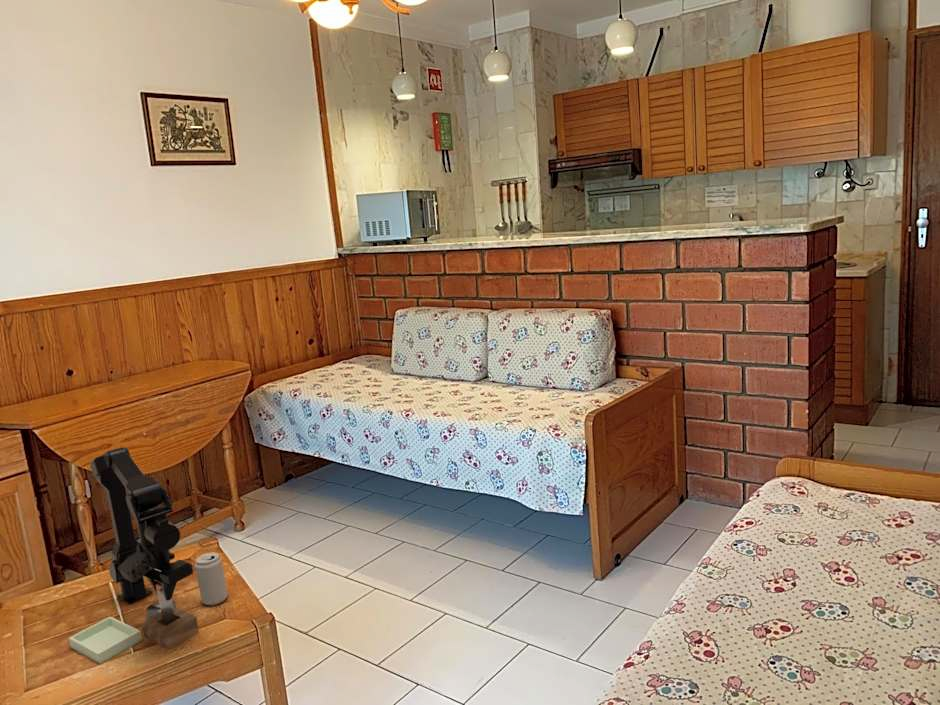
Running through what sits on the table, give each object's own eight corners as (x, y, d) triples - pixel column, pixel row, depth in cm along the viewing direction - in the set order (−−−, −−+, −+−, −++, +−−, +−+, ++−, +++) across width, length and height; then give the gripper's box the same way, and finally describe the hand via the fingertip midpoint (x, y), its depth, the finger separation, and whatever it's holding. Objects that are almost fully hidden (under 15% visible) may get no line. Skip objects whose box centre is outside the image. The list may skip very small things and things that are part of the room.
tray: (70, 647, 175) (68, 638, 174) (112, 625, 183) (110, 616, 182) (100, 664, 167) (98, 654, 167) (142, 640, 175) (140, 630, 175)
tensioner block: (144, 637, 176) (141, 622, 175) (174, 620, 182) (171, 605, 182) (168, 649, 170) (165, 634, 170) (198, 631, 177) (196, 616, 176)
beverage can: (219, 607, 187) (212, 563, 184) (196, 606, 188) (189, 563, 186) (232, 594, 193) (225, 551, 190) (210, 593, 194) (202, 551, 192)
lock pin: (159, 619, 175) (153, 584, 173) (170, 613, 177) (164, 578, 175) (166, 622, 173) (160, 587, 172) (177, 616, 176) (170, 581, 174)
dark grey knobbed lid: (141, 618, 185) (139, 607, 184) (167, 605, 190) (165, 593, 189) (157, 626, 181) (155, 614, 180) (183, 612, 186) (181, 600, 185)
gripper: (98, 543, 170) (110, 605, 173) (143, 560, 159) (156, 626, 163) (143, 523, 179) (154, 583, 182) (189, 539, 168) (200, 601, 171)
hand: (164, 598), depth 174 cm, fingers closed on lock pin, 3 cm apart
